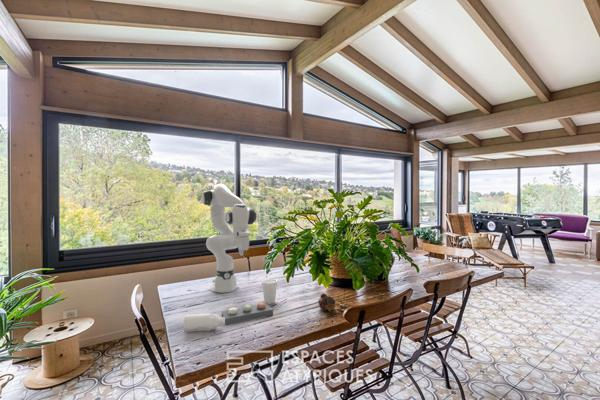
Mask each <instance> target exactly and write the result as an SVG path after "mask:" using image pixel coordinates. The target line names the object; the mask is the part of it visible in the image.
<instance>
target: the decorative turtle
mask: <svg viewBox="0 0 600 400" xmlns="http://www.w3.org/2000/svg"><path fill="white" fill-rule="evenodd" d="M318 305H319V307H320V310H321V311H322V312H323V313H325V312H326V311H328V312H330V313H333V312H334V311H335V306H336V301H335V299H334V298H333V297H332V296H328V294H326V293H324V292H323V293H321V294H320V297H319V299H318Z"/></svg>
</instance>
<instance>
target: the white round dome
mask: <svg viewBox="0 0 600 400" xmlns="http://www.w3.org/2000/svg"><path fill="white" fill-rule="evenodd" d="M237 309H238V308H237V307H236V306H235V307H229V308H228V310H227V311H228V314H230V315H233V314H236V313H237Z"/></svg>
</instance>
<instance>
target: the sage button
mask: <svg viewBox="0 0 600 400" xmlns="http://www.w3.org/2000/svg"><path fill="white" fill-rule="evenodd" d="M252 306H253V305H251V304H244V305H243V306H242V308H243V311H245V312H249V311H251V310H252Z"/></svg>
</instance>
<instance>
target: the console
mask: <svg viewBox="0 0 600 400" xmlns="http://www.w3.org/2000/svg"><path fill="white" fill-rule="evenodd" d="M251 306H252V310H251V311H249V312H245V311H243V307H239V308H237V313H236V314H233V315H230V314H228V310H224V311H221V317H224V318H225V324H224V326H225V325H229V324H236V323H240V322H245V321H250V320H253V319H255V320H256V319H260V318H264V317H268V316H273V315H274V309H273V308H272V307H271V306H270V304H267V303H265V306H266V307H265V308H264V309H258V308H257V304H256V305H251Z"/></svg>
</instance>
